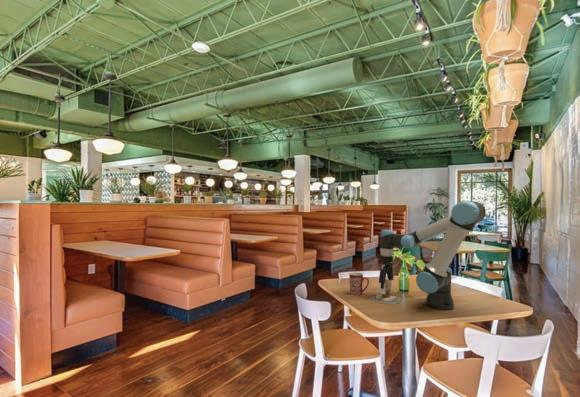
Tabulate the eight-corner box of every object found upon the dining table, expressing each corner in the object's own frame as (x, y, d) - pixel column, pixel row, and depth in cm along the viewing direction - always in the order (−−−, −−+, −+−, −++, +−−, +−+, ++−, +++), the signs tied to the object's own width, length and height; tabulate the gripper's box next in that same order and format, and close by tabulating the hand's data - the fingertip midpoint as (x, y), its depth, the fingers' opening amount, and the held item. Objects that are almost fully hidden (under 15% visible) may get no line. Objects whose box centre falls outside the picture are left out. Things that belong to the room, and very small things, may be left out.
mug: (346, 295, 202) (347, 274, 202) (350, 292, 210) (351, 271, 210) (366, 298, 196) (367, 276, 196) (370, 295, 204) (370, 273, 204)
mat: (403, 299, 196) (403, 298, 196) (393, 305, 184) (393, 304, 184) (378, 294, 206) (378, 293, 206) (368, 299, 194) (368, 298, 194)
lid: (399, 298, 196) (399, 280, 196) (391, 303, 187) (392, 284, 187) (380, 294, 204) (380, 277, 204) (372, 298, 194) (372, 280, 194)
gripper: (387, 252, 206) (387, 287, 206) (373, 256, 189) (372, 294, 189) (399, 253, 202) (398, 289, 202) (385, 258, 184) (384, 297, 184)
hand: (386, 292), depth 195 cm, fingers open, 9 cm apart
